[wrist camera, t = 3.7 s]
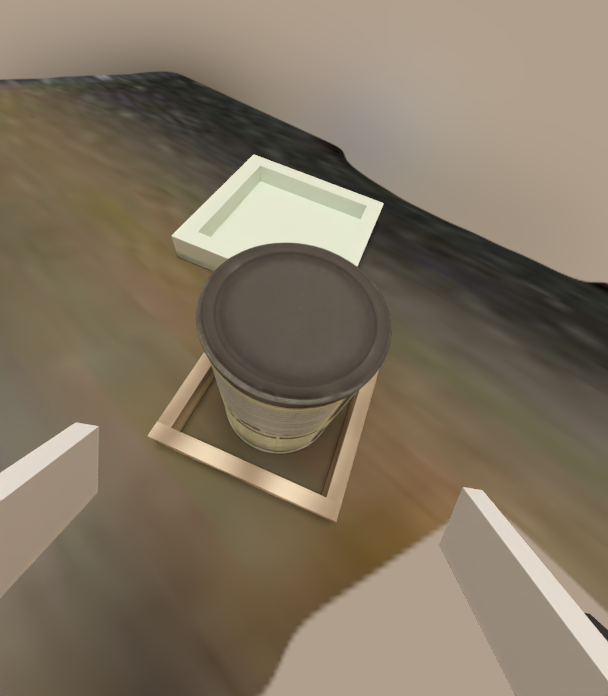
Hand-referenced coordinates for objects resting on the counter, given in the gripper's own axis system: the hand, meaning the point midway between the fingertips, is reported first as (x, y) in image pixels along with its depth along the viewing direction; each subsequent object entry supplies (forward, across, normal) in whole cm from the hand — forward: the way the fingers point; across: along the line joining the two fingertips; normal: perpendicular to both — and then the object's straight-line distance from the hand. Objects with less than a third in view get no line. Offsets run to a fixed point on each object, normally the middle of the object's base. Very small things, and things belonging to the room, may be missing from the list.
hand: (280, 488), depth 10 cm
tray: (+32, -3, +12) cm, 34 cm away
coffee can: (+16, 0, -4) cm, 17 cm away
